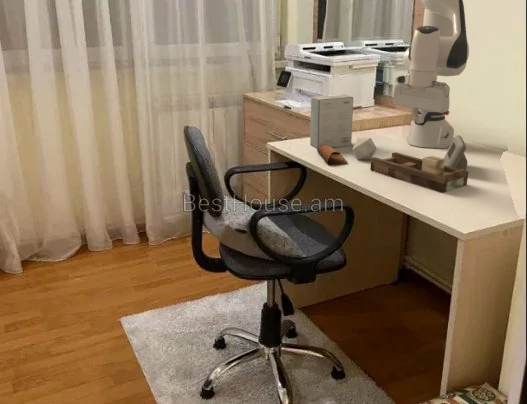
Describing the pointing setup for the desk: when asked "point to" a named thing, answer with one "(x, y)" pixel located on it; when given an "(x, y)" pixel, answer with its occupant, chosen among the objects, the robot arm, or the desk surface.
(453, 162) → the digital clock
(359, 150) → the die
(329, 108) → the hard drive box
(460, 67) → the robot arm
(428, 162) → the maple cube
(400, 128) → the desk surface
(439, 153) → the desk surface
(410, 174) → the track
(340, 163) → the sunglasses case
